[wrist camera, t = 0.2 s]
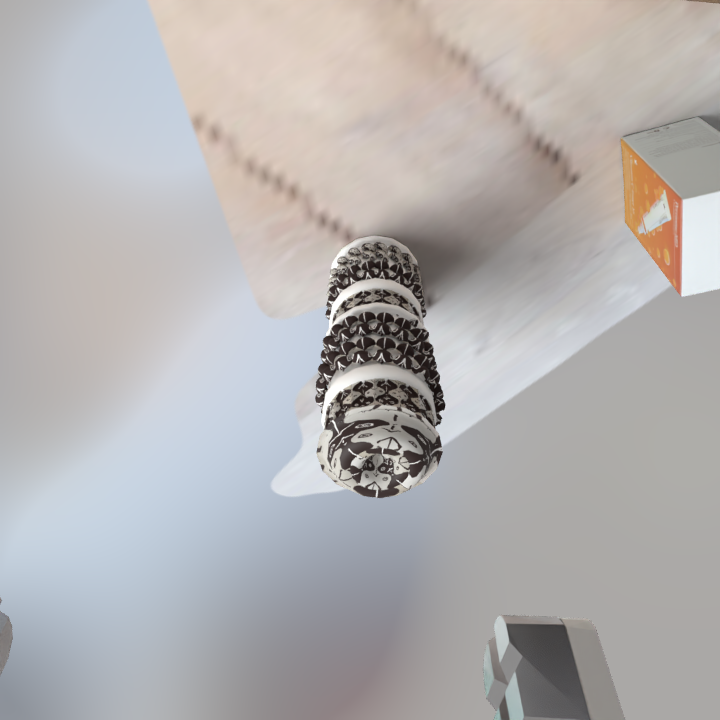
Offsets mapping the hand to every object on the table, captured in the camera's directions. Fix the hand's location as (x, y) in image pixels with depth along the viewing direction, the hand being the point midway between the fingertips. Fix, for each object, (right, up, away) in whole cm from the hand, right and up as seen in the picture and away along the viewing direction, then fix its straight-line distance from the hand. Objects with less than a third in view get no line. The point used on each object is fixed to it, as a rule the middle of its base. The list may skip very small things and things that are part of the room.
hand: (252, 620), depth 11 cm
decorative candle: (+3, +12, +50) cm, 52 cm away
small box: (+27, +20, +44) cm, 56 cm away
